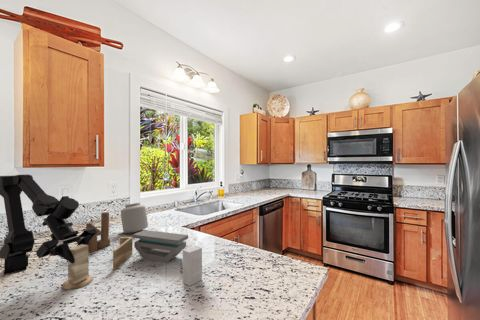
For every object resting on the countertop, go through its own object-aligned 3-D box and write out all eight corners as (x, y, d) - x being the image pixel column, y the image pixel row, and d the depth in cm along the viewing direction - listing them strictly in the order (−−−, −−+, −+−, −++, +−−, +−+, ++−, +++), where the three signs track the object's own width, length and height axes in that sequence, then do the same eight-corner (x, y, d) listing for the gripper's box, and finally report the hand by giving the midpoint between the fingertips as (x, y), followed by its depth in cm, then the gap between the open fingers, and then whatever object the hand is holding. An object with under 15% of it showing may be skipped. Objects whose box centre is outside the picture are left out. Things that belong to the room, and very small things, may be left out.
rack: (100, 270, 90) (100, 250, 90) (120, 253, 107) (120, 237, 107) (115, 270, 90) (116, 250, 90) (133, 253, 107) (133, 236, 108)
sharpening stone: (187, 258, 102) (188, 235, 102) (178, 266, 94) (178, 240, 94) (144, 251, 110) (144, 229, 110) (132, 258, 102) (132, 234, 102)
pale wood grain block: (68, 282, 79) (67, 249, 79) (81, 275, 84) (81, 244, 84) (75, 284, 78) (74, 250, 78) (88, 276, 83) (88, 245, 82)
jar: (112, 233, 140) (113, 193, 140) (132, 227, 153) (133, 191, 154) (134, 237, 132) (134, 195, 133) (152, 230, 146) (153, 192, 146)
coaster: (63, 292, 74) (63, 290, 74) (60, 282, 80) (60, 280, 80) (95, 282, 80) (95, 281, 80) (90, 274, 87) (90, 272, 87)
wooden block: (85, 251, 110) (86, 215, 110) (105, 244, 120) (106, 211, 120) (90, 252, 108) (91, 216, 109) (110, 245, 118) (110, 211, 119)
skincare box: (195, 276, 85) (195, 245, 86) (202, 279, 83) (202, 247, 83) (181, 282, 81) (182, 249, 81) (189, 286, 78) (189, 252, 78)
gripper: (73, 233, 94) (92, 262, 91) (18, 248, 76) (40, 286, 73) (87, 216, 92) (107, 245, 89) (35, 228, 74) (58, 265, 71)
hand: (81, 259), depth 80 cm, fingers closed on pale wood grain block, 5 cm apart
